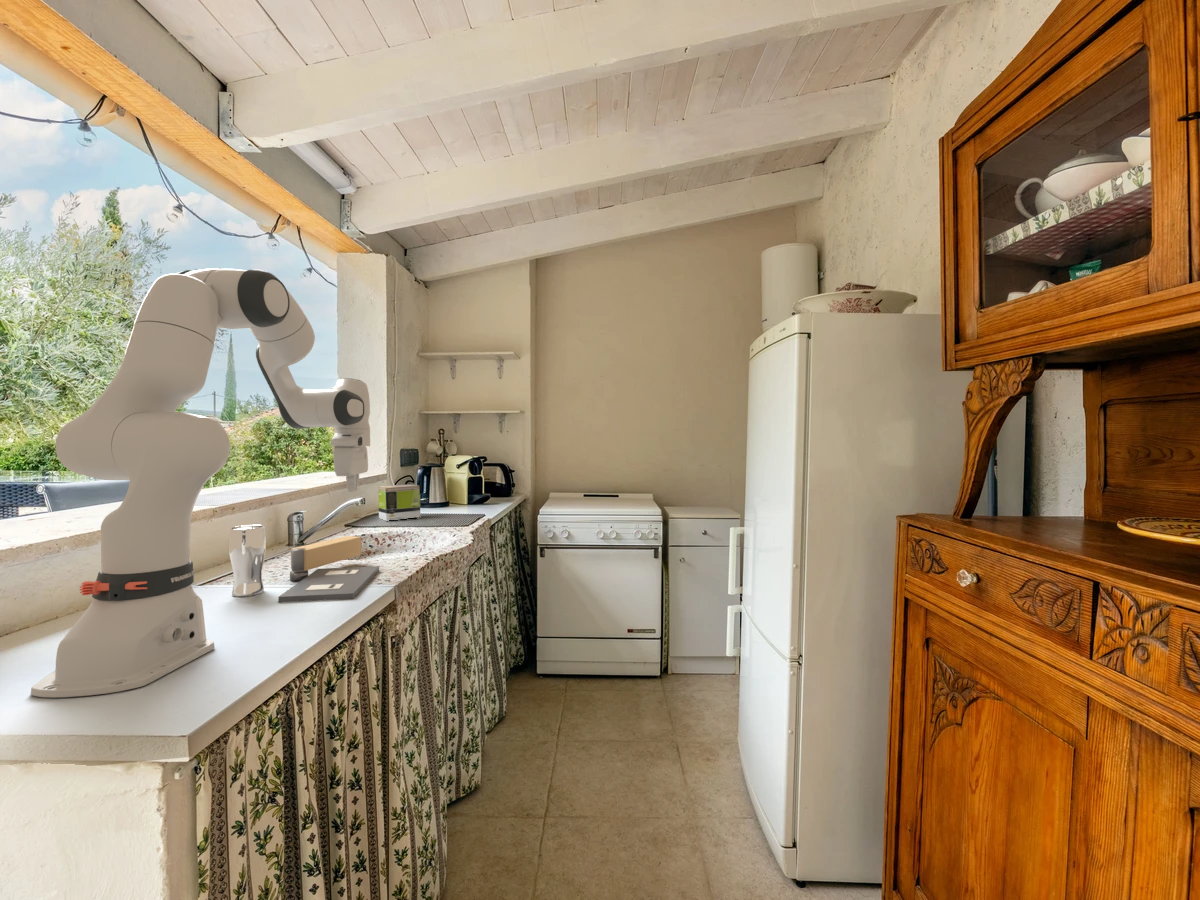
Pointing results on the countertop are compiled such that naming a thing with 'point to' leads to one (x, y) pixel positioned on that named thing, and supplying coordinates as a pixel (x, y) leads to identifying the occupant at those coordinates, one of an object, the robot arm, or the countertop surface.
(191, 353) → the robot arm
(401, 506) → the tea box
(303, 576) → the pivot post
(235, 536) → the beer glass
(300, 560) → the swing arm
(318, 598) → the label panel
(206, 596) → the countertop surface
